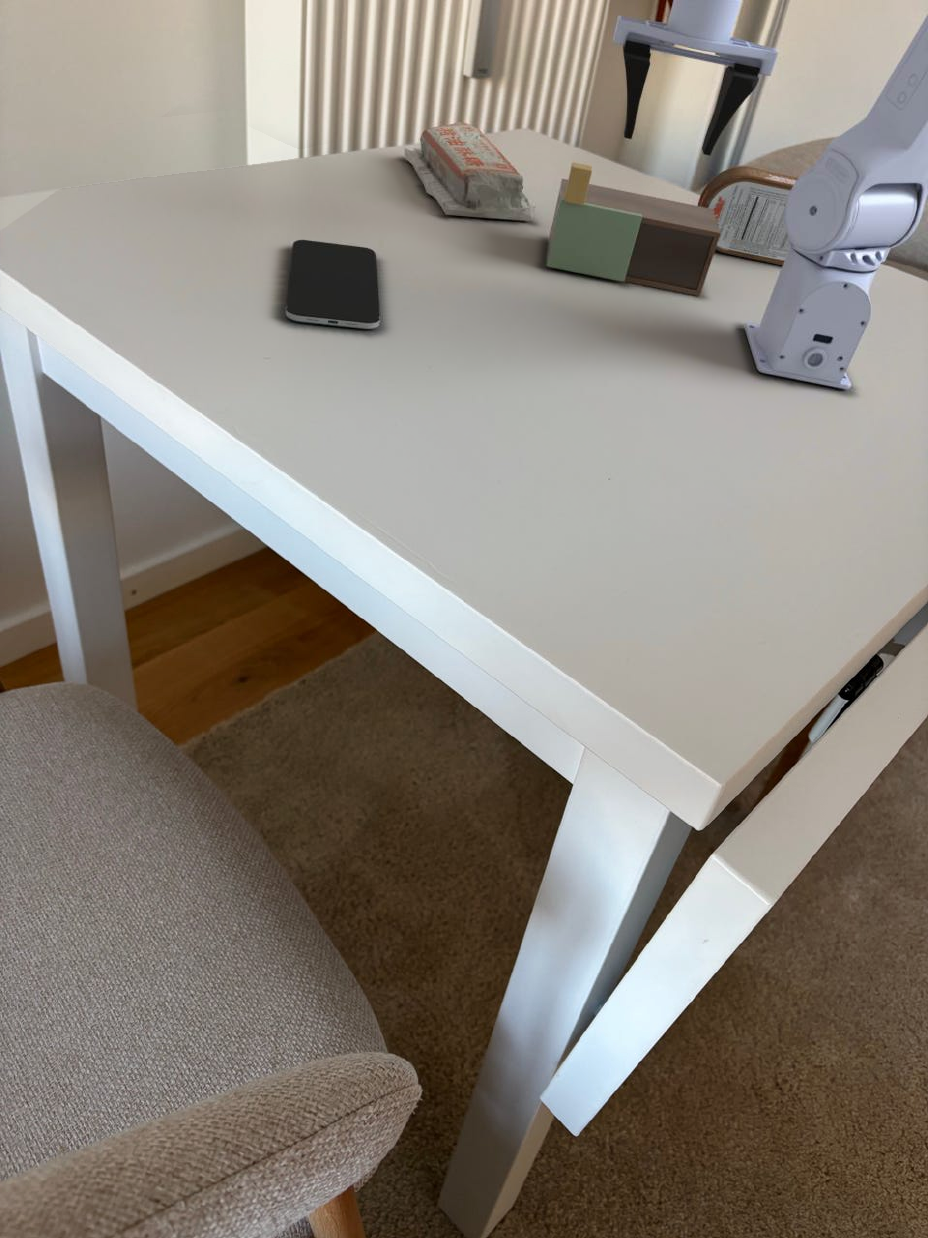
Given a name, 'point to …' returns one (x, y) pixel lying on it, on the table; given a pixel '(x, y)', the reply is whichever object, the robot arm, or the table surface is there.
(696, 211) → the cupboard
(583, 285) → the table surface
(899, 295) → the table surface
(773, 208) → the tin
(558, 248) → the sliding door
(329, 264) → the smartphone
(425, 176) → the packaged product
